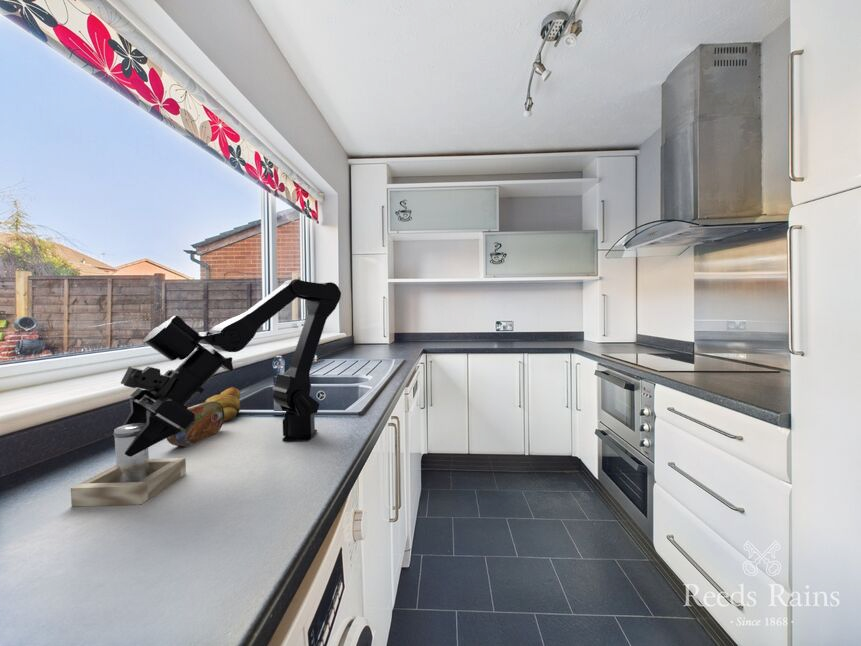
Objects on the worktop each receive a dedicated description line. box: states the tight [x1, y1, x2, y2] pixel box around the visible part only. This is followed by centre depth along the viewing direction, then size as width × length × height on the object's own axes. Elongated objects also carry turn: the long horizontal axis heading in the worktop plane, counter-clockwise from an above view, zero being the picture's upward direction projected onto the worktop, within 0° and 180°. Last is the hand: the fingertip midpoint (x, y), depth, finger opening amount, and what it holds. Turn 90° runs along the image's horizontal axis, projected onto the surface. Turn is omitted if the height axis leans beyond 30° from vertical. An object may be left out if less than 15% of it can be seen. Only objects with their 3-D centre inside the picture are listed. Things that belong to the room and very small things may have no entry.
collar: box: [70, 457, 187, 507], centre depth 63 cm, size 11×11×3 cm
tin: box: [166, 401, 225, 447], centre depth 87 cm, size 15×3×8 cm, turn 168°
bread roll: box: [204, 386, 241, 422], centre depth 104 cm, size 13×10×8 cm
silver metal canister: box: [113, 423, 150, 483], centre depth 63 cm, size 5×5×11 cm
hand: (121, 448), depth 62 cm, fingers open, 9 cm apart
